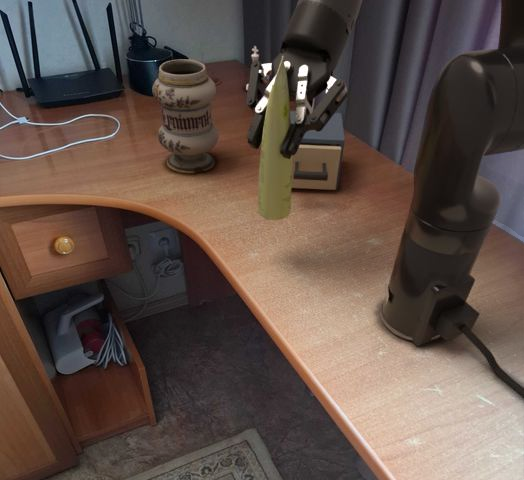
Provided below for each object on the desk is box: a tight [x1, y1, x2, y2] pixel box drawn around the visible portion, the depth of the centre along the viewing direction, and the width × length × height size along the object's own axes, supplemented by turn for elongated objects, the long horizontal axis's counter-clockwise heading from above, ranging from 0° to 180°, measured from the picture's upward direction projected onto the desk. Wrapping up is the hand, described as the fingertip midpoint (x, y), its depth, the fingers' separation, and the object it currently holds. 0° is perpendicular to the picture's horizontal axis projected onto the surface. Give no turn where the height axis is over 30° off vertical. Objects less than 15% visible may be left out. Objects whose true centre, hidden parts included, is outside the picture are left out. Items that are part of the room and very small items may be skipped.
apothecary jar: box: [151, 58, 220, 175], centre depth 91 cm, size 12×12×18 cm
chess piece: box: [245, 45, 260, 91], centre depth 124 cm, size 5×5×10 cm
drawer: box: [292, 143, 341, 191], centre depth 89 cm, size 17×10×8 cm, turn 176°
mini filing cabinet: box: [290, 110, 346, 191], centre depth 92 cm, size 13×12×10 cm
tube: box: [257, 56, 293, 221], centre depth 62 cm, size 6×5×20 cm
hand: (268, 150), depth 61 cm, fingers closed on tube, 4 cm apart
